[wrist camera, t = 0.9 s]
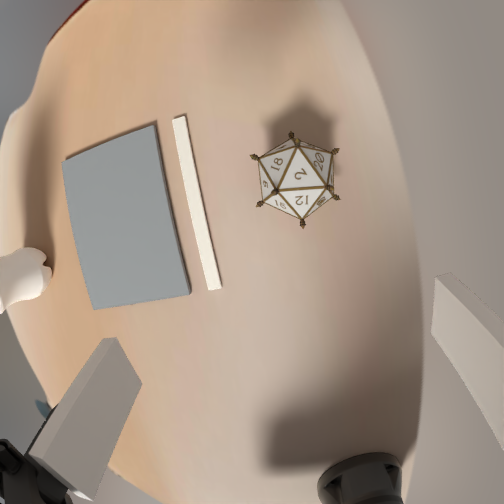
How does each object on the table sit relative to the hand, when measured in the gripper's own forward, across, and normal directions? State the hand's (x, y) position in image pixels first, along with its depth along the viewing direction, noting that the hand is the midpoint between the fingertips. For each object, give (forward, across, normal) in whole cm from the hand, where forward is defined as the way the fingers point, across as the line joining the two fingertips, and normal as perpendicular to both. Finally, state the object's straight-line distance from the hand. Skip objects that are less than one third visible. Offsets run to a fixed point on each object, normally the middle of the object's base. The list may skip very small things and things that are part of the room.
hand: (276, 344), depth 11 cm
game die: (+24, -3, -2) cm, 24 cm away
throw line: (+23, +8, -3) cm, 25 cm away
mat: (+23, +18, -3) cm, 29 cm away
